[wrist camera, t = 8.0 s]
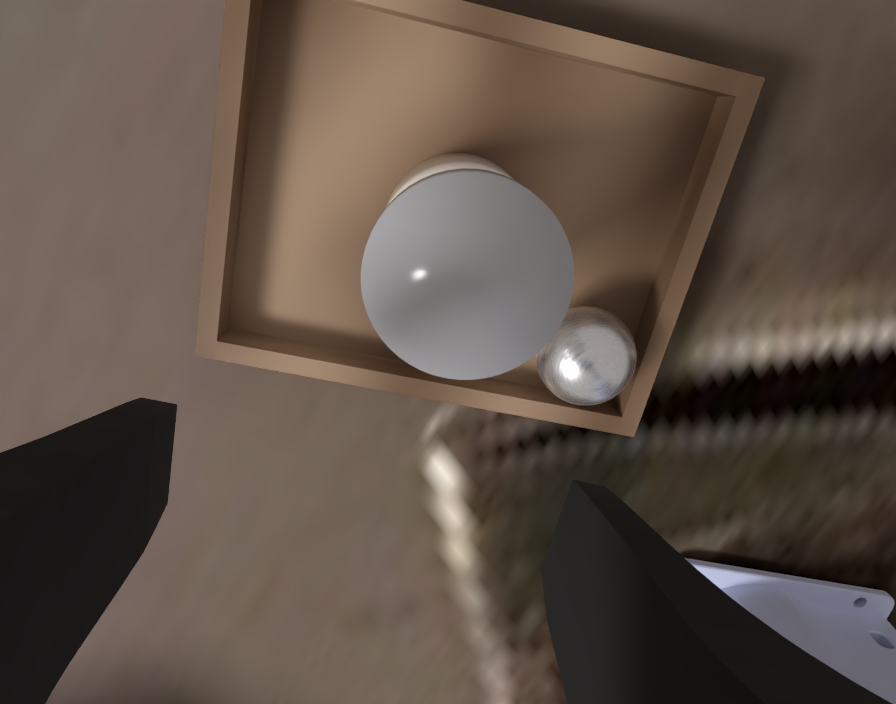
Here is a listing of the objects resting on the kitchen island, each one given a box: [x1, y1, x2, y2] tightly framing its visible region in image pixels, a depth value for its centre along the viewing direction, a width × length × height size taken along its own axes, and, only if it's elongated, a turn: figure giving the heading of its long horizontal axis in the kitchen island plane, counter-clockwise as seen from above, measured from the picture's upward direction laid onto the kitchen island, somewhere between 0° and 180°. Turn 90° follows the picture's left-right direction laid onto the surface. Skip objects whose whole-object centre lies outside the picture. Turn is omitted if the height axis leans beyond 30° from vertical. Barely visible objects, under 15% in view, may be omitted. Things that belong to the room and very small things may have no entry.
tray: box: [195, 0, 765, 437], centre depth 19 cm, size 14×11×2 cm
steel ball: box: [535, 306, 637, 405], centre depth 20 cm, size 3×3×3 cm
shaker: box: [361, 153, 574, 380], centre depth 17 cm, size 5×5×6 cm
